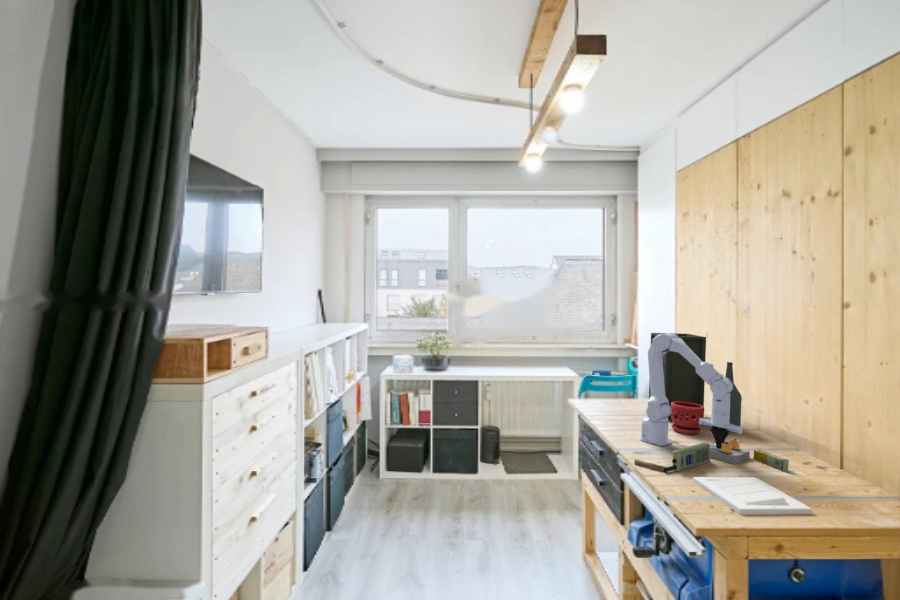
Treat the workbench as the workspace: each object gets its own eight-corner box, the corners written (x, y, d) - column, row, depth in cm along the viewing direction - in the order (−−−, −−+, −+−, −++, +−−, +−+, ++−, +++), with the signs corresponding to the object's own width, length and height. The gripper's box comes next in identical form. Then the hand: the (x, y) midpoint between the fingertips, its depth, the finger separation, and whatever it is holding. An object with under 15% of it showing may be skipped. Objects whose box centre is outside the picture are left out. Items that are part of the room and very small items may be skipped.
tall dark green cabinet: (703, 421, 228) (706, 337, 228) (663, 420, 229) (666, 336, 228) (684, 412, 247) (687, 333, 246) (648, 411, 247) (650, 332, 246)
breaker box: (700, 454, 181) (700, 447, 181) (715, 448, 188) (716, 442, 188) (734, 464, 171) (734, 456, 171) (749, 458, 178) (749, 450, 178)
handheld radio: (711, 462, 173) (669, 475, 159) (702, 460, 176) (660, 472, 162) (711, 443, 173) (669, 455, 160) (702, 441, 176) (660, 452, 162)
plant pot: (705, 437, 203) (706, 409, 203) (670, 433, 208) (671, 405, 208) (701, 429, 215) (702, 402, 215) (669, 425, 220) (670, 399, 220)
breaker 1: (721, 451, 176) (721, 441, 176) (724, 450, 178) (724, 440, 178) (728, 453, 174) (728, 443, 174) (731, 452, 176) (731, 442, 176)
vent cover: (813, 503, 133) (740, 503, 132) (812, 515, 133) (740, 516, 132) (755, 472, 156) (692, 472, 154) (755, 482, 156) (692, 482, 154)
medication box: (788, 471, 166) (789, 460, 166) (782, 472, 165) (783, 460, 165) (758, 459, 178) (759, 448, 178) (752, 460, 177) (753, 449, 177)
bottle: (731, 426, 222) (734, 360, 221) (745, 432, 212) (748, 364, 212) (709, 425, 222) (712, 360, 221) (722, 432, 212) (725, 363, 211)
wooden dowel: (636, 462, 170) (634, 465, 169) (636, 458, 170) (634, 461, 168) (666, 470, 163) (664, 473, 162) (665, 465, 163) (663, 469, 162)
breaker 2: (729, 447, 180) (730, 438, 180) (732, 446, 182) (733, 437, 182) (736, 449, 179) (736, 440, 178) (739, 448, 180) (739, 439, 180)
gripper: (747, 414, 174) (745, 451, 174) (706, 405, 186) (704, 441, 186) (738, 416, 170) (736, 455, 170) (696, 408, 182) (695, 444, 182)
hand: (719, 448), depth 178 cm, fingers closed
